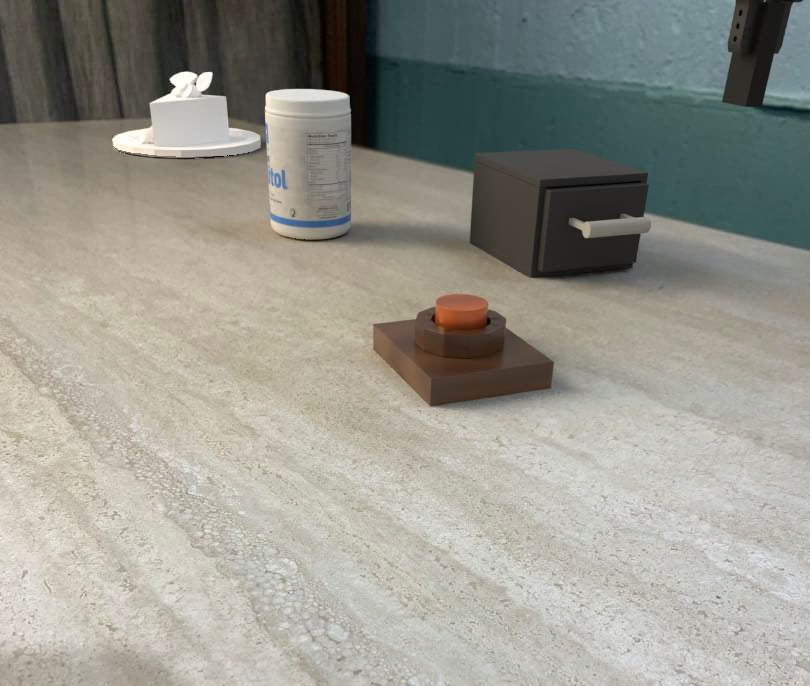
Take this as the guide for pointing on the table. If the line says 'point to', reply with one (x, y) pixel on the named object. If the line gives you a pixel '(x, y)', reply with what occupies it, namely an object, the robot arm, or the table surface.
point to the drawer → (592, 225)
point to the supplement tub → (309, 162)
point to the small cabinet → (531, 200)
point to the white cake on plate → (189, 124)
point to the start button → (461, 312)
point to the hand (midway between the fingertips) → (741, 103)
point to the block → (461, 359)
